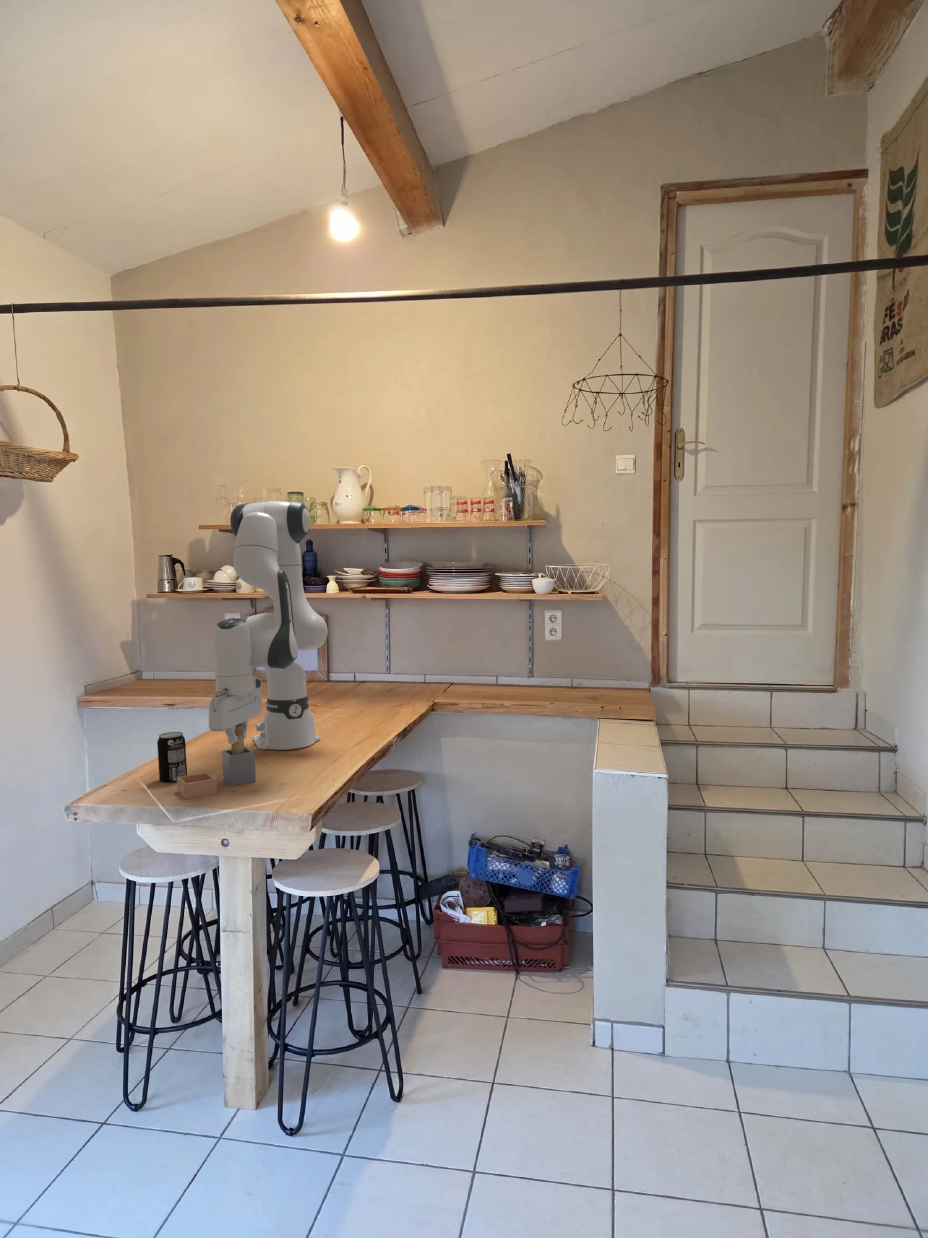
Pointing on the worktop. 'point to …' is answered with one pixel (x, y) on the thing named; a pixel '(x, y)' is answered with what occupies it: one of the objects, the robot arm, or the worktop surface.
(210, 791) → the terracotta pot
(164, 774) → the beverage can
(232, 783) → the deep cup
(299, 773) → the worktop surface
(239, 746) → the dowel
